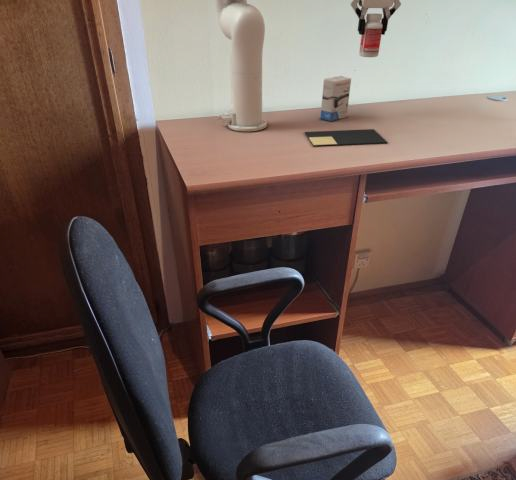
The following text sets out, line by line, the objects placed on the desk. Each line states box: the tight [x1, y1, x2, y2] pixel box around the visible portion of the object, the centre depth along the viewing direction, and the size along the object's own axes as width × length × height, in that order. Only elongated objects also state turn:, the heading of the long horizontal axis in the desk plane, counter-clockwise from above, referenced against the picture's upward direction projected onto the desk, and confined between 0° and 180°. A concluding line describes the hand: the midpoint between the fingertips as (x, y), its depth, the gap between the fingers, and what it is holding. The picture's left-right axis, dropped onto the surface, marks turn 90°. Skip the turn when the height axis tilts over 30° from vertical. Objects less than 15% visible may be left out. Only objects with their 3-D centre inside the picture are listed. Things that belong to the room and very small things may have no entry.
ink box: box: [320, 75, 352, 122], centre depth 148 cm, size 8×5×12 cm, turn 131°
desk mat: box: [304, 128, 388, 147], centre depth 135 cm, size 22×13×1 cm, turn 97°
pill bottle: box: [358, 13, 383, 58], centre depth 142 cm, size 6×6×11 cm
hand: (371, 33), depth 142 cm, fingers closed on pill bottle, 6 cm apart
